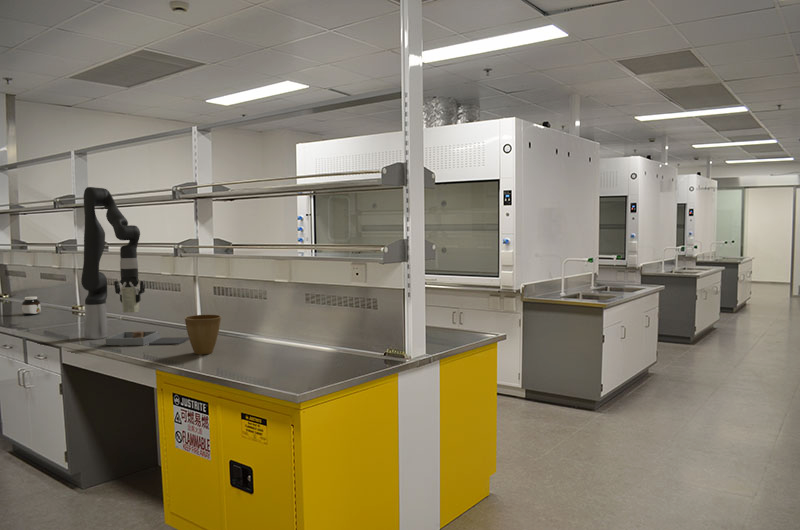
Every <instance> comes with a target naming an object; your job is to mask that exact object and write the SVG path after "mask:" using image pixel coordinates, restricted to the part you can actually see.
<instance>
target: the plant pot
mask: <svg viewBox="0 0 800 530" xmlns="http://www.w3.org/2000/svg"><path fill="white" fill-rule="evenodd" d="M221 320H222V316H221V315H219V314H196V315H189V316H185V317H184V322H185V327H186V332H187V337H189V340H188V341H189V343H190V345H191V347H192V350H193V352H194V354H195V355H199V356H201V355H203V354H204V355H210V354H212V353H213V352H214V349H215V346H216V343H217V340H218V336H219V331H220V328H221V327H220V326H221Z"/></svg>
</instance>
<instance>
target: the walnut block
mask: <svg viewBox="0 0 800 530" xmlns="http://www.w3.org/2000/svg"><path fill="white" fill-rule="evenodd" d="M132 332H133V338H143V337H144V331H142V330H140V331H139V330H138V331H137V330H136V332H135V331H132Z"/></svg>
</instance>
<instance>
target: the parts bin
mask: <svg viewBox="0 0 800 530" xmlns="http://www.w3.org/2000/svg"><path fill="white" fill-rule="evenodd" d="M136 331H137V330H136ZM136 331H122V332H119V333H117V334H113V335H111V336H109V337H108V336H107V337H105V346H106V345H144V346H145V344H146V345H147V343H148V344H149V342H150V343H151V342H153V341H154V340H156V339H157V340H158V338H159V339H160V338H161V337H160V336H161V335H160V330H158V331H157V330H155V331H154V330H152V331H150V330H149V331H147V330H145V331H144V337H143V338H133V332H136Z"/></svg>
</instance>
